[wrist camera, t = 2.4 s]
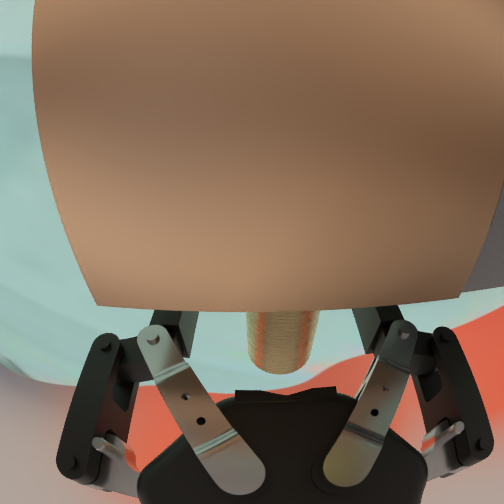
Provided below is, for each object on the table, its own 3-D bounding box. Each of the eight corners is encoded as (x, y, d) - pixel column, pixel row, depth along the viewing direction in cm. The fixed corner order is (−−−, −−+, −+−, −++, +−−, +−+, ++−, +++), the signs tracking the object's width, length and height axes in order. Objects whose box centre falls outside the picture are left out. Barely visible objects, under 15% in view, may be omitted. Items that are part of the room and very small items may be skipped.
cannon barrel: (227, -21, 5) (240, -62, 3) (319, -14, 6) (364, -40, 3) (243, 329, 14) (253, 379, 12) (300, 320, 15) (318, 366, 12)
